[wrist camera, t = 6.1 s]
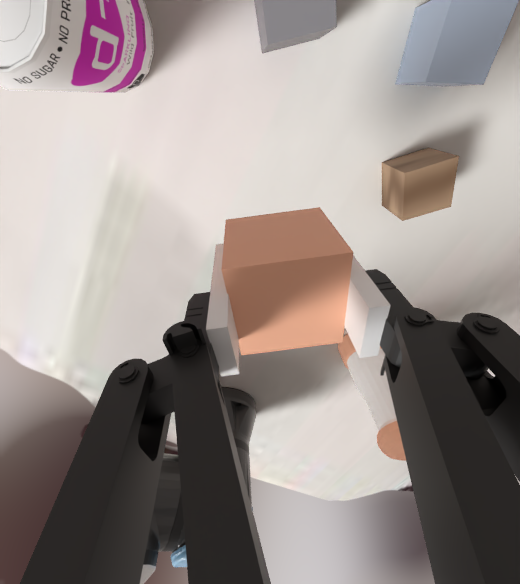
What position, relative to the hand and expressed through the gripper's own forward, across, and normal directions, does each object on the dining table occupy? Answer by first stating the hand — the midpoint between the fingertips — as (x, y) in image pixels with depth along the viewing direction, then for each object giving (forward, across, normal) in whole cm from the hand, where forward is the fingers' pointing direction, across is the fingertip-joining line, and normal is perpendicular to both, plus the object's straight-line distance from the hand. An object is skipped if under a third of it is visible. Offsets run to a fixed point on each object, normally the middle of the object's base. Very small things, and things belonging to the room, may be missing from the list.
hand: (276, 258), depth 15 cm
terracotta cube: (0, 0, 0) cm, 0 cm away
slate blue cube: (+18, -17, -9) cm, 26 cm away
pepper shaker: (+18, -15, +30) cm, 38 cm away
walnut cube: (+18, -17, +2) cm, 25 cm away
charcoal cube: (+18, -4, -13) cm, 22 cm away
